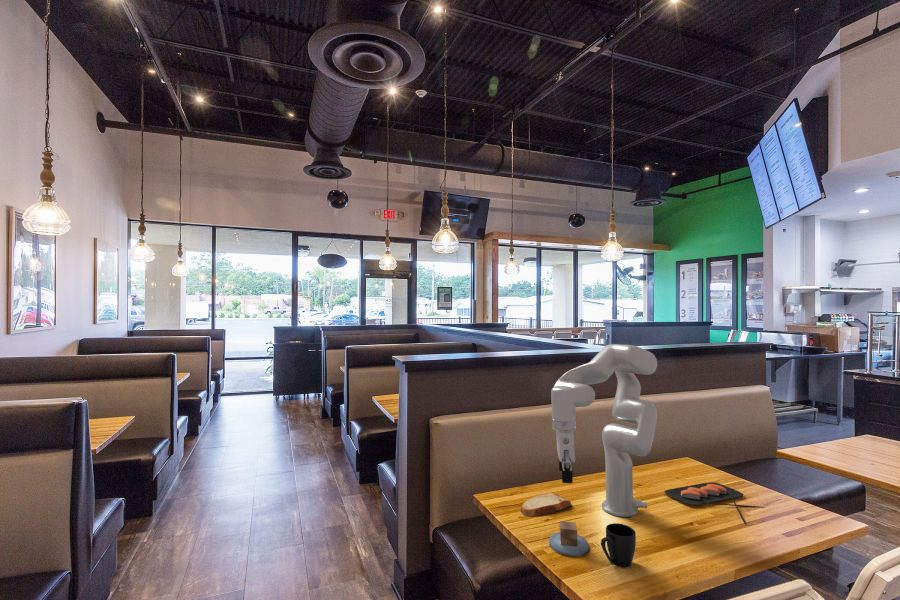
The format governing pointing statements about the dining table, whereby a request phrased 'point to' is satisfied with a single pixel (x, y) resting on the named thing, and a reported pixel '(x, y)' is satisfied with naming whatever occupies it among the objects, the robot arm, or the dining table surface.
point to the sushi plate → (706, 495)
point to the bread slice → (544, 504)
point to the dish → (568, 550)
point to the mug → (619, 544)
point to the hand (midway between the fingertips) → (565, 476)
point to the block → (568, 533)
